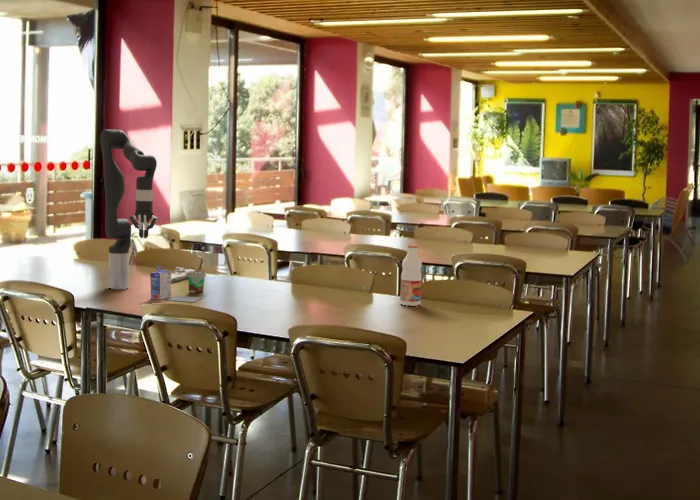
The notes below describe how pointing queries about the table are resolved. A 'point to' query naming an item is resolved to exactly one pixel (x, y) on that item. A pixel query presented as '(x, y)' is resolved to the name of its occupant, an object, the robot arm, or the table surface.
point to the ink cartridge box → (160, 284)
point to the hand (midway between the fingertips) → (143, 237)
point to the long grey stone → (180, 274)
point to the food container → (196, 282)
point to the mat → (184, 299)
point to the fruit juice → (411, 278)
